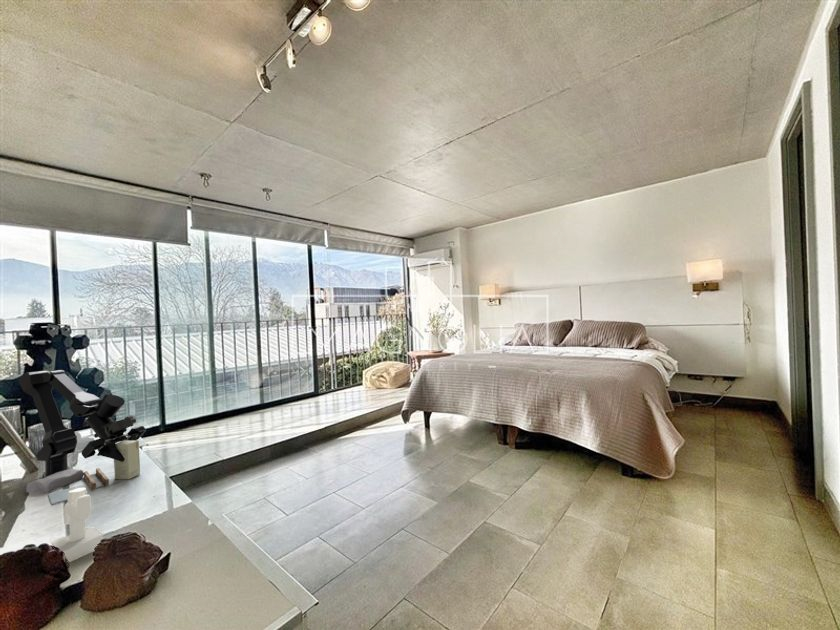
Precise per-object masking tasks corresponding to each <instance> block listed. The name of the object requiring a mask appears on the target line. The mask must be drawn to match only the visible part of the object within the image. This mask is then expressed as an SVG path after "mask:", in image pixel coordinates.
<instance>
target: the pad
mask: <svg viewBox="0 0 840 630" xmlns="http://www.w3.org/2000/svg"><path fill="white" fill-rule="evenodd" d="M77 488H86V487H85V486H84V484H81V485H80V484H79V485H76V486H72V487H70V488H66V489H62V490H59V491H56V492H52V493H51V492H50V493H47V496H48V498H49V500H50V501H49V502H50V504H51V505H52V506H53V505H56V504H61V503H65V502H67V501H68V499H67V498H68V492H69V491H70V490H71V491H72V490H74V489H77ZM86 495H89V492H88V491H87V489H86Z"/></svg>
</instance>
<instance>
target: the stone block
mask: <svg viewBox="0 0 840 630" xmlns="http://www.w3.org/2000/svg"><path fill="white" fill-rule="evenodd" d="M84 472H85V471H83V470H82V469H75V468H69V469H68V470H64V471H60V472H57V473H54V474H52V475H49V476H47V477H43V478H39V479H36V480H33V481H30V482H27V483H26V487H25V488H26V489H25V490H26V493H27V492H29V493H28V494H49V493H51V492H53V491H55V490H59V489H60V488H63V487H65V486H68V485H70V484H72V483H75V482H77V481H79V480H81V479H83V478H84Z"/></svg>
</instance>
